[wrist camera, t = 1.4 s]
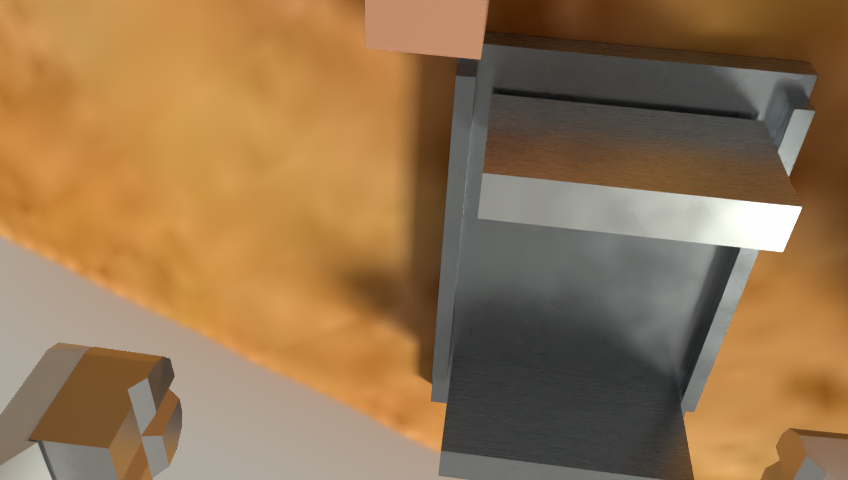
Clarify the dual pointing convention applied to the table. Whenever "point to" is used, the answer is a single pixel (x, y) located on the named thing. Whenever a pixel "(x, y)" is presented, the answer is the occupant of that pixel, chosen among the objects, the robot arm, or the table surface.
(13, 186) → the table surface
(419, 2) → the rust block
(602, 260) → the vise base
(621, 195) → the sliding jaw
